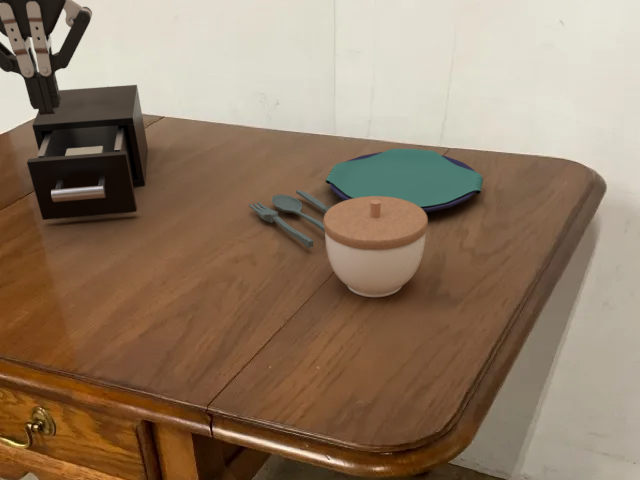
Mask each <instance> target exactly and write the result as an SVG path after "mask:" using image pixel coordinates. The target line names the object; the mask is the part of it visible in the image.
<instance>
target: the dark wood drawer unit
mask: <svg viewBox="0 0 640 480" xmlns="http://www.w3.org/2000/svg"><path fill="white" fill-rule="evenodd" d="M59 93H60V97H61V101H60V105H59V108H57V110H56V112H55V114H46V115H40V113H39V110H37V113H36V115H35V117H34V120H33V122H32V126H31V127H32V130H33V134H34V138H35V142H36V145H37V150H38V151H39V150H40V148H41V145H42V142H43V140H44V137H45V134H46V132H47V131H53V130H66V129H79V128H92V127H105V126H119V125H126V129H127V135H128V140H129V145H130V151H131V156H132V161H133V166H134V174H133V183H132V184H133V188H134V187H135V188H136V187H146V180H147V179H146V178H147V164H148V152H149V147H148V141H147V136H146V128H145V124H144V117H143V112H142V106H141V100H140V96H139V89H138V85H137V84H129V85H128V84H127V85H114V86H100V87H99V86H98V87H86V88H85V87H84V88H70V89H59Z"/></svg>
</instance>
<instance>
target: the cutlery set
mask: <svg viewBox="0 0 640 480" xmlns="http://www.w3.org/2000/svg"><path fill="white" fill-rule="evenodd" d="M324 181H325V183H326V184H327V185H329V187H330V189H331V191H332V192H333V193H334V194H335V195H336V196H337V197H338V198H339V199H341V200H343V201H346V200H349V199H353V198H359V197H368V196H385V197H393V198H399V199H403V200H406V201H409V202H412V203H414V204H416V205H418V206H419V207H420V208H422V209H423V210H424V212H425V213H430V212H434V211H439V210H440V211H441V210H445V209H449V208H452V207H454V206H457V205H458V204H461V203H463V202H466V201H468V200H469V199H470V198H471V197H473V195H475V194H476V195H478V194H481V193H482V188H483V187H482V186H483V181H484V178H483V176H482V174H481V173H479V172H478V171H475V169H474V168H472V167H471V166H469V165H467V164H466V163H465V162H463V161H461V160H458V159H455V158H452V157H449V156H447V155H444V154H443V155H442V154H439V153H438V152H436V151H435V150H433V149H431V150H430V149H419V148H390V149H387V150H384V151H380V152H374V153H368V154H364V155H363V154H362V155H359V156H357V157H355V158H352V159H348V160H346V161H342V162H338V163H336V164H335V165H333V166H332V168H331V170H330V172H329V173H328V175H327V177H326V179H325V180H324ZM295 194H296V195H298V196H299V197H301V198H303V199H304V200H306V201H307V202H309V203H310V204H312V205H313V206H314V207H316V208H318V209H319V210H320V211H322V212H323V217H324V216H325V214H326V212H327V211H328V210H329V209H330V208H331V207H332V206H326V205H325V204H324V203H323V202H321V201H320V200H319V199H317V198H316V197H314V196H313V195H311V194H310V193H308V192H306V191H303V190H300V189H296V190H295ZM271 203H272V204H273V205H274V206H275V208H276V209H278V210H274V209H272V208H270V207H268V206H266V205H264V204H262V203H261V202H260V201H257V202H256V203H255V202H253V203H252V204H251V203H248V207H249V208H250V209H251V210H253V211H254V212H255V213H256V214H257V215H258V216H259V217H260V219H262V221H264V222H268V223H271V224H272V223H276V224H277V225H278V226H279V227H280V229H282V230H283V231H284V232H285V233H287V234H289V236H291V237H293V238H294V239H296V240H297V241H299V242H300V243H302V245H304V246H305V247H306V248H308V249H310V248H313V247H314V240H313V239H312V238H310V237H309V236H307V234H304V233H302V232H300V231H299V230H297V229H295V228H293V227H292V226H290V225H289V224H288V223H287V222H286V221H284V219H283V218H281V217H279V211H281V212H283V213H284V214H285V213H286V214H294V215H295V214H296V215H297V216H299V217H301V218H303V219H304V220H306V221H307V222H308V223H310V224H312V225H314V226H315V227H317V228H318V229H319V230H320V231H322V232H323V233H325V230H324V222H321V221H320V220H318V219H316V218H314V217H312V216H310V215H309V214H306V213H304V212H302V207H303V203H302V202H301V201H300V200H299V199H298V198H296V197H294V196H292V195H288V194H281V193H279V194H275V195H272V196H271Z"/></svg>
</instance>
